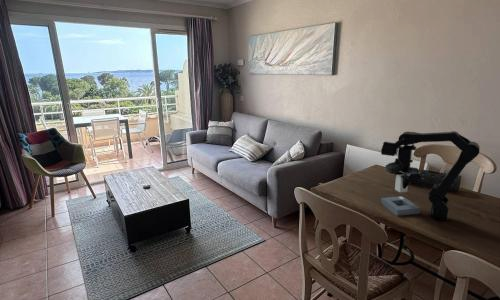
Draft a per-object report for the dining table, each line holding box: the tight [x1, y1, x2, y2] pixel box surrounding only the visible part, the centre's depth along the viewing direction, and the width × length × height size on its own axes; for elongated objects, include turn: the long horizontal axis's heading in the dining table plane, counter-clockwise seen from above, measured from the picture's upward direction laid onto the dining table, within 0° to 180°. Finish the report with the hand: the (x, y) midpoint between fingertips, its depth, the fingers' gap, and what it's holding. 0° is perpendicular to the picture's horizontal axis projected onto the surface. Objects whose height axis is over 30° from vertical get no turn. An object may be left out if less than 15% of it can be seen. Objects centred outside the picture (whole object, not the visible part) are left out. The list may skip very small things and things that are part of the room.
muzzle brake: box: [409, 166, 462, 193], centre depth 168 cm, size 10×28×10 cm, turn 50°
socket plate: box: [380, 195, 421, 217], centre depth 145 cm, size 14×12×3 cm
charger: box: [394, 174, 409, 193], centre depth 142 cm, size 4×4×8 cm
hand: (401, 186), depth 142 cm, fingers closed on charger, 4 cm apart
